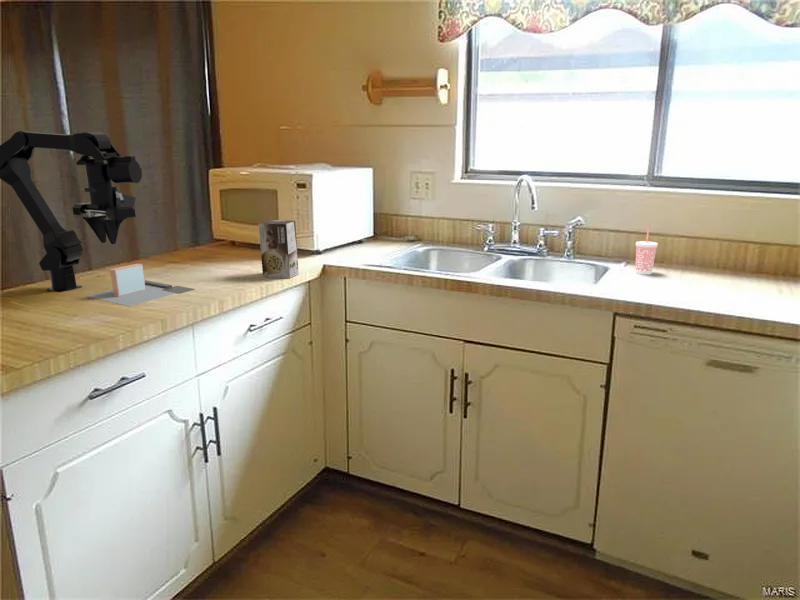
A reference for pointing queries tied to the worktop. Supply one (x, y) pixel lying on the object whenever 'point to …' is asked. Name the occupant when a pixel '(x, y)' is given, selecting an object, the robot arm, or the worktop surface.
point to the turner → (169, 287)
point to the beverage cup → (645, 256)
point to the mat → (133, 296)
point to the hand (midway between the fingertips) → (108, 243)
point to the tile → (127, 279)
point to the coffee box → (278, 248)
